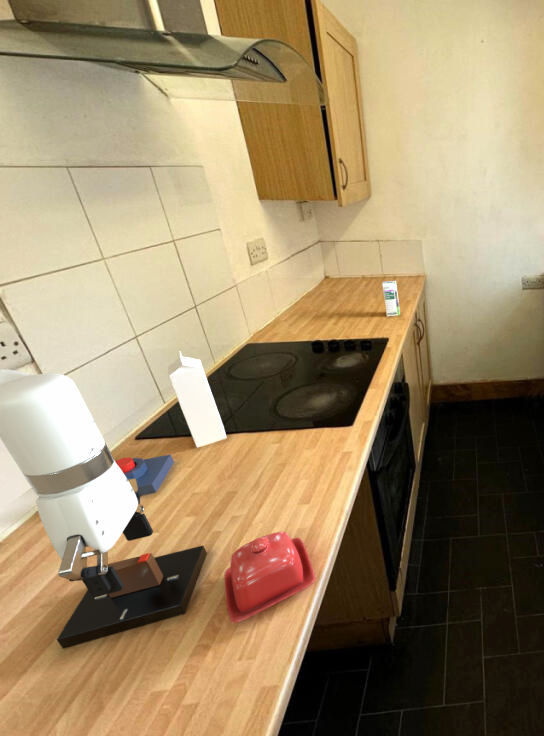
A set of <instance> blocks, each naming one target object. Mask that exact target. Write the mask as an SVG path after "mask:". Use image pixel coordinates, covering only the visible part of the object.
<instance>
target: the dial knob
mask: <svg viewBox="0 0 544 736" xmlns="http://www.w3.org/2000/svg"><path fill="white" fill-rule="evenodd" d="M110 566H113V568H114V569H115V571H116V573H117V574H118V576H119V578H120V579H121V581H122V583H123V585H124V586H123V588H122V590H121V591H117V592H114V593H110V594H109V596H110V598H113V597H116V596H120V595H124V594H128V593H131V592H135V591H139V590H143V589H146V588H150V587H154V586H158V585H160V583H161V581H162V579H163V574H162V572H161V570H160V568H159V566H158V564H157V562H156V561H155V559H154V555H153V553H150V552H148V553H144V554H140V555H138V556H135V557H131V558H127V559H122V560H119V561H114V562H111V563H108V567H110Z"/></svg>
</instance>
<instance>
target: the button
mask: <svg viewBox="0 0 544 736" xmlns="http://www.w3.org/2000/svg"><path fill="white" fill-rule="evenodd" d="M115 462H116V464H117V465H118V466H119V468H120V469H121V470H122V472H123V473H126V472H129V471H130V470H132V469H133V468H135V463H134V461H133V459H132V457H131V456H130V457H129V456H128V457H127V456H126V457H123V458H119V459H116V460H115Z"/></svg>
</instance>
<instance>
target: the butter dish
mask: <svg viewBox="0 0 544 736" xmlns="http://www.w3.org/2000/svg"><path fill="white" fill-rule="evenodd" d="M315 582H316V573H315V571H314V567H313V565H312V561H311V558H310V556H309V553H308V550H307V548H306V545H305V543H304V541H303V539H301V537H293V538H292V537H290V535H289V534H288V533H287V532H285V531H277V532H273V533H269V534H266V535H264V536H263V535H262V536H260V537H257V538H255V539H253V540H251V541H249V542H247V543H246V544H244V545H242V546H240V547H238V549H236V550H234V552H233V553H232V554H231V557H230V567H228V568H227V569H226V570H225V572H224V576H223V584H224V591H225V592H224V594H225V601H226V608H227V614H228V618H229V620H230V622H231V623H233V624H237V623H240V622H243V621H245V620H247V619H249V618H252V617H253V616H256V615H257V614H259V613H261V612H264V611H265V610H267V609H268V608H271V607H272V606H275V605H277V604H279V603H280V602H282V601H284V600H286V599H289V598H290V597H292V596H294V595H296V594H298V593H300V592H302V591H303V590H306V589H307V588H309V587H310V586H312V585H313V584H314V583H315Z"/></svg>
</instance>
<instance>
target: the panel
mask: <svg viewBox="0 0 544 736" xmlns="http://www.w3.org/2000/svg"><path fill="white" fill-rule="evenodd" d="M207 555H208V552H207V550H206V548H205V546H204V545H198V546H194V547H191V548H186V549H183V550H178V551H175V552H171V553H167V554H163V555H159V556H155V557H154V556H153V557H154V559H155V561H156V562H157V564H158V566H159V568H160V570H161V572H162V574H163V579H162V581H161V583H160V585H158V586H154V587H150V588H146V589H143V590H139V591H135V592H131V593H128V594H124V595H120V596H116V597H113V598H110V596H109V594H106V595H103V596H99V597H93V596H92V595H91V593H90V592H89V590H88V589H87V590H86V592H85V593H84V595H83V596H82V598H81V599H80V601H79V602H78V605H77V606H76V608H75V609H74V611H73V612H72V614H71V616H70V617H69V619H68V620H67V622H66V623H65V625H64V627H63V629H62V630H61V632H60V633H59V635H58V636H57V638H56V641H57V643H58V645H60V647H61V648H62V649H63V650H64V649H68V648H71V647H75V646H78V645H82V644H86V643H89V642H92V641H95V640H96V641H97V640H99V639H103V638H106V637H110V636H112V635H116V634H117V635H118V634H120V633H123V632H127V631H130V630H133V629H137V628H142V627H144V626H148V625H151V624H154V623H159V622H162V621H165V620H169V619H172V618H175V617H179V616H183V615H185V614H186V612H187V611H188V608H189V605H190V602H191V599H192V596H193V594H194V591H195V588H196V585H197V582H198V580H199V577H200V575H201V572H202V570H203V565H204V563H205V560H206V558H207Z"/></svg>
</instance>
